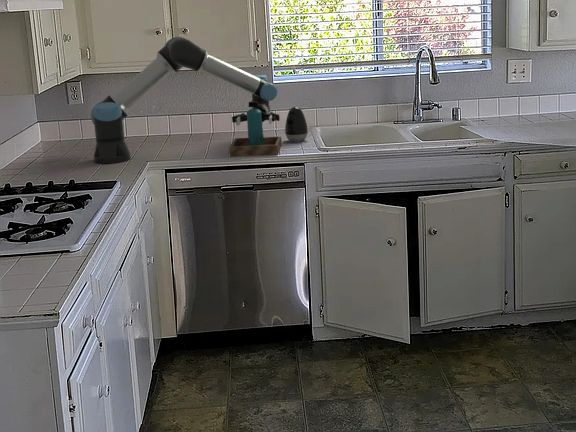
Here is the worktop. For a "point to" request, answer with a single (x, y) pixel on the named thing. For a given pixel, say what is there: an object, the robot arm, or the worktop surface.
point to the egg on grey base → (296, 125)
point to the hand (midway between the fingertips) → (253, 121)
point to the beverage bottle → (254, 125)
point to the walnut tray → (255, 147)
